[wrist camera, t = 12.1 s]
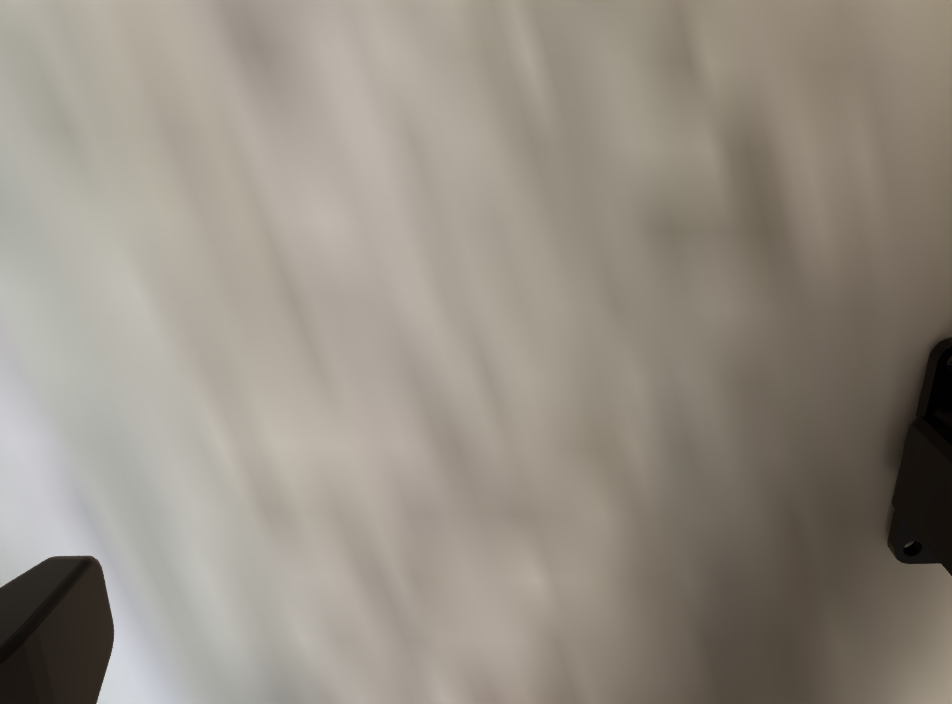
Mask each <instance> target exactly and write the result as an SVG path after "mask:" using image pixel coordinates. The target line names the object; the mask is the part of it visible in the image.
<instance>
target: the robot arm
mask: <svg viewBox="0 0 952 704" xmlns="http://www.w3.org/2000/svg"><path fill="white" fill-rule="evenodd" d="M951 356H952V338H948V339H944V340H943V341H941V342H939V343H938V344H937V345H936V346H935V347H934V348H933V349H932V351H931V353H930V355H929V359H928V364H927V368H926V373H925V377H924V381H923V386H922V390H921V395H920V399H919V404H918V408H917V412H916V417H915V419H914V420H913V421H912V423H911V424H910V425H909V429H908V434H907V438H906V443H905V447H904V451H903V456H902V460H901V465H900V469H899V474H898V478H897V483H896V487H895V492H894V496H893V501H892V504H893V507H894V508H895V510H894V514H893V519H892V523H891V528H890V532H889V537H888V547H889V549H890V551H891V552H892V553H893V555H894V556H895V557H896V559H897V560H899V561H900V562H902V563H907V564H931V563H941V564H942V565H943V566H944V567H945V569H946V570H947V571H948V572H949V573H950V575H951V576H952V364H951V365H947V362H948V360H949V358H950V357H951ZM911 541H914V542H913V544H912V545H910V546H909V547H905V545H906V544H907V543H909V542H911ZM904 547H905V548H904ZM113 642H114V625H113V619H112V614H111V609H110V604H109V599H108V595H107V590H106V585H105V580H104V575H103V570H102V567H101V565H100V563H99V561H98V560H97V559H95V558H94V557H92V556H55V557H51V558H48V559H46V560H45V561H43V562H41V563H40V564H38V565H36V566H35V567H33V568H31V569H30V570H28V571H27V572H25V573H23V574H22V575H20V576H18V577H17V578H15V579H14V580H12V581H10V582H9V583H7V584H5V585H4V586H2V587H1V588H0V704H96V703H97V700H98V696H99V693H100V690H101V686H102V683H103V679H104V676H105V673H106V669H107V666H108V662H109V659H110V656H111V652H112V648H113Z"/></svg>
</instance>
